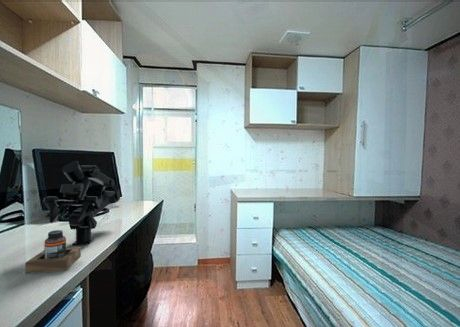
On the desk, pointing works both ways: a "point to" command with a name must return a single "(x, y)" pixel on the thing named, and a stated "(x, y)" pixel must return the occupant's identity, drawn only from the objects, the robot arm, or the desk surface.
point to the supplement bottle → (55, 245)
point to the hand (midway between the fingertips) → (64, 221)
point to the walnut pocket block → (52, 262)
